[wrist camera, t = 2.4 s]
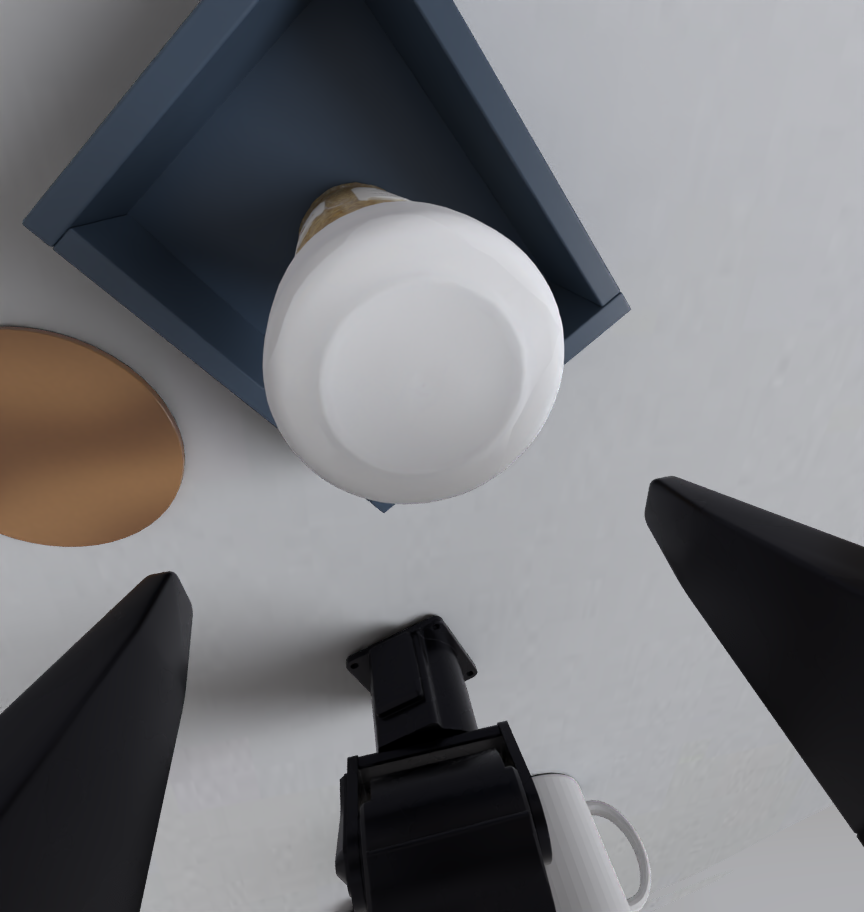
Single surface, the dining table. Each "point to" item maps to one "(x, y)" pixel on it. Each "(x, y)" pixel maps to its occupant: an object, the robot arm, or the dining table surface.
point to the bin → (302, 168)
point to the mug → (585, 851)
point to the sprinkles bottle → (409, 348)
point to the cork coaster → (80, 443)
